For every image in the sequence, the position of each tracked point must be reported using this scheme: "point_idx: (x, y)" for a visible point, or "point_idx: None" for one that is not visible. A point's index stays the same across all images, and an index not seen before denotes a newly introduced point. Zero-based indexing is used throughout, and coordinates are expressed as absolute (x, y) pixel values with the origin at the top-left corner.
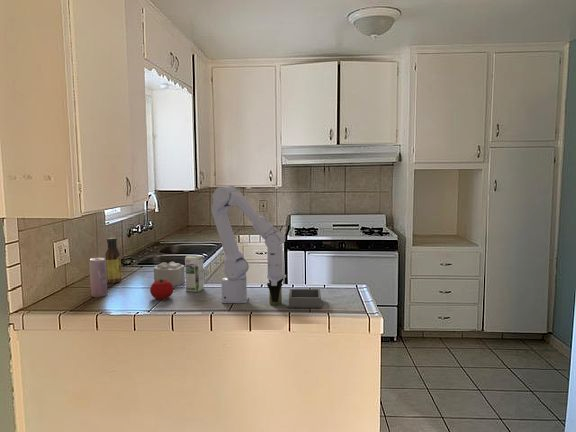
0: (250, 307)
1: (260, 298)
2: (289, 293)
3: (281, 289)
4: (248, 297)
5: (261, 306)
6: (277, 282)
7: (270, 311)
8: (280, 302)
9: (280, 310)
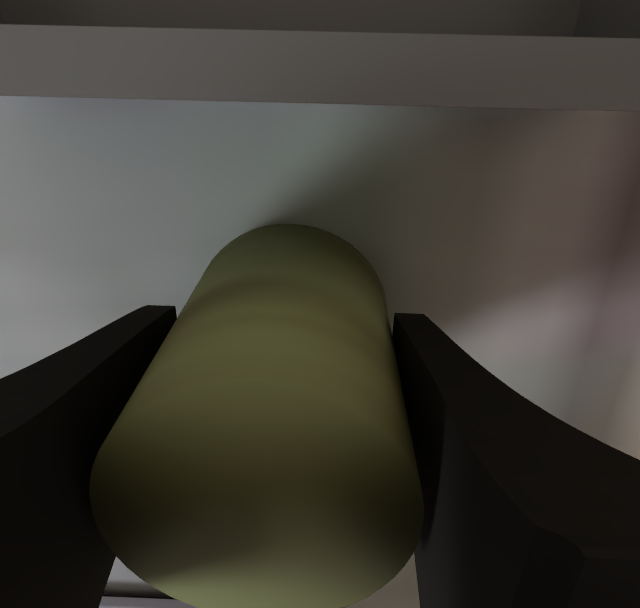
0: None
1: None
2: (279, 98)
3: (280, 365)
4: (109, 602)
5: None
6: (5, 584)
7: (634, 370)
8: (348, 257)
9: (631, 237)
